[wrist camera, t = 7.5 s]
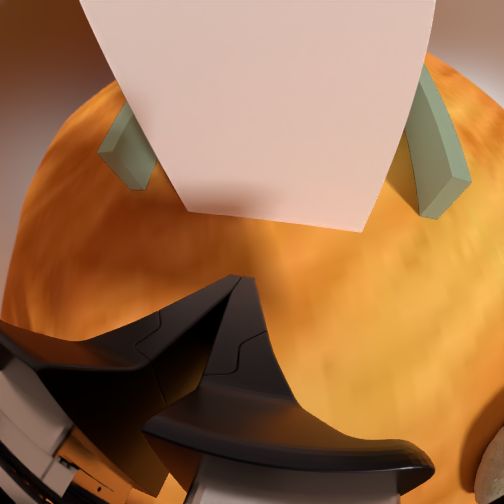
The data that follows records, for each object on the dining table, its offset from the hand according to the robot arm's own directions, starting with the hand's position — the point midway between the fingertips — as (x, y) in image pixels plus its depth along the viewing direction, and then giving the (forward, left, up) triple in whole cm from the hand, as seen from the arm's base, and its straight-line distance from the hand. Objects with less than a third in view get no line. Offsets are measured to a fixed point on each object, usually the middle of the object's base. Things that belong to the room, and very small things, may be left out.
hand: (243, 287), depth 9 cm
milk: (+11, +3, -7) cm, 13 cm away
